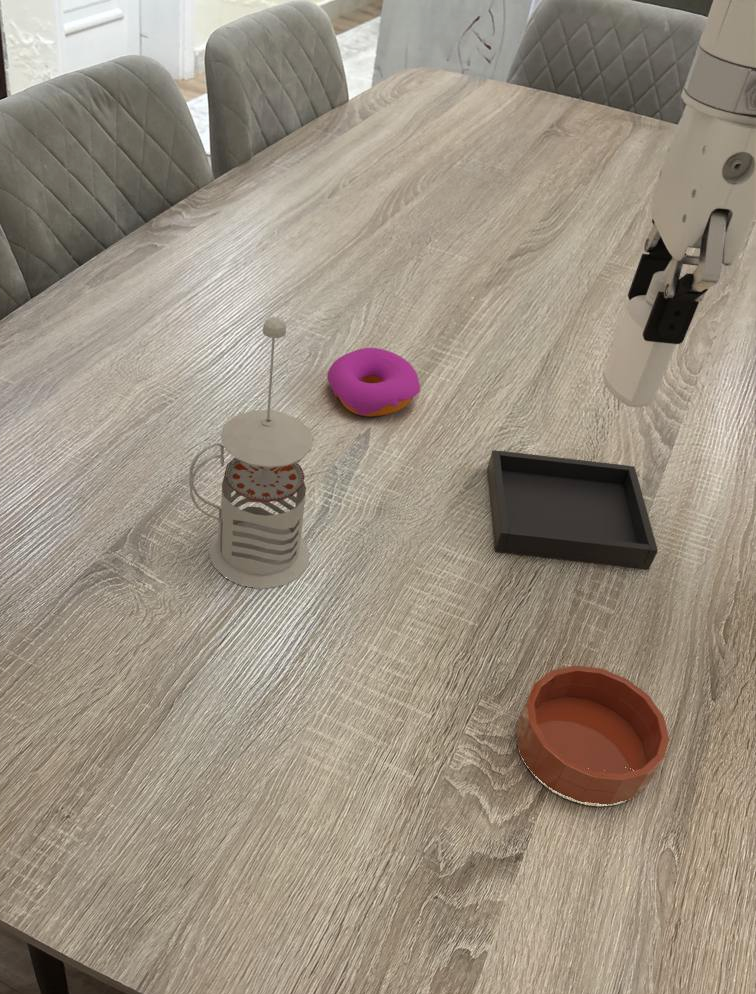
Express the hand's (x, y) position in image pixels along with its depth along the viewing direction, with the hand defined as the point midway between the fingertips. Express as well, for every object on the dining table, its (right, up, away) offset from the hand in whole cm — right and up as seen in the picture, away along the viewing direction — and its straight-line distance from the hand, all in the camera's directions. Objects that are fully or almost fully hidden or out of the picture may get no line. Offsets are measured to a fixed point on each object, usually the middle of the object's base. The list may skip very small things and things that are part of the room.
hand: (654, 318), depth 78 cm
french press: (-34, -19, +13) cm, 41 cm away
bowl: (-6, -36, 0) cm, 36 cm away
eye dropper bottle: (-1, -5, +5) cm, 7 cm away
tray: (-2, -15, +21) cm, 26 cm away
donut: (-21, +1, +34) cm, 40 cm away
